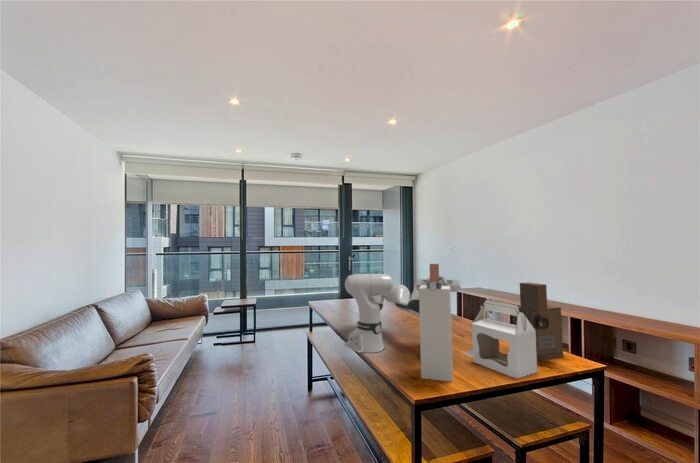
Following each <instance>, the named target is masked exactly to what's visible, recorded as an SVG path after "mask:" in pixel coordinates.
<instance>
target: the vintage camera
mask: <svg viewBox="0 0 700 463" xmlns="http://www.w3.org/2000/svg"><path fill="white" fill-rule="evenodd" d="M547 292H548V291H547V284H543V283H537V282H529V281H528V282H520V283H519V298H520V303H519V304H520V305H518V306H519V310H520V312H522V313H523V314H525V316H526V318H527V319H528V321H529V322H530V323H531V325H532V326H533V328H534V329H535V333H536V356H537V362H542V361H549V360H554V359H555V360H556V359H562V358H564V357H565V356H564V349H563V344H564V343H563V328H562V326H563V325H562V307H561V306H557V305H552V304H548V293H547ZM512 324H514V325H516V324H517V316H514V315H512Z"/></svg>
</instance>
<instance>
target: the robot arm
mask: <svg viewBox="0 0 700 463" xmlns="http://www.w3.org/2000/svg"><path fill="white" fill-rule="evenodd" d="M440 277H441V280H442V286H450V293H458V292H459V291H461V290H462V288H461V281H460V280H459V279H451V278H450V279H449V278H446V277H444V276H440ZM429 280H430V276H428V278H417V279H416V280H415V284H414V288H413V290H412V293H411V292H410V290H409V288H408V287H407V286H406V285H404V284H394V279H393V277H392V276H391V275H390V274H387V273H379V272H378V273H354V274H350V275H348V276H347V277H346V279H345V282H344V288H345V290H346V292H347V293H348V294H349V295H351V296H352V297H353V299H354V300H355V302H356V304H357V306H358V315H359V316H358V318H359V320H358V321H356V322H355V324H356V325H357V326H356V328H355V329H353V330H352V331H351V332H350V333H349V335H348V341H345V342H344V343H343V346H344V347H347V348H348V349H350V350H352V351H354V352H355V353H360V354H362V353H368V354H369V353H370V354H371V353H378V352H382V351H384V350H385V346H384V342H383V334H382V321H381V311H382V310H383V308H384V300H385V301H386V302H388V303H390V304H393V305H395V307H397V308H399V309H400V310H403V311H405V312H408V313H412V314H414V315H416V316H420V311H419V288H420V287H421V285H424V286H427V282H428V281H429ZM383 349H384V350H383Z"/></svg>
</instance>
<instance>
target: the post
mask: <svg viewBox="0 0 700 463" xmlns="http://www.w3.org/2000/svg"><path fill="white" fill-rule="evenodd" d="M430 283H431V281H430V280H429V281H428V282H427V286H424V285H421V287H420V288H419V311H420V315H419V335H420V336H419V338H420V340H419V343H420V347H419V348H420V378H421V379H427V380H434V381H443V382H444V381H445V382H451V383H453V376H454V375H453V373H454V371H453V370H454V368H453V367H454V365H453V345H452V344H453V342H452V341H453V340H452V339H453V337H452V335H453V333H452V307H451V306H452V305H451V302H452V300H451V299H452V298H451V292H450V286H442V280H439V281H438V287H437V290H430Z"/></svg>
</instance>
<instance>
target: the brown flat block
mask: <svg viewBox="0 0 700 463" xmlns="http://www.w3.org/2000/svg"><path fill="white" fill-rule="evenodd" d="M429 277H430V281H431V283H430V290H437V287H438V281H439V280H441V277H442V276H440V265H439V263H429Z"/></svg>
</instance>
